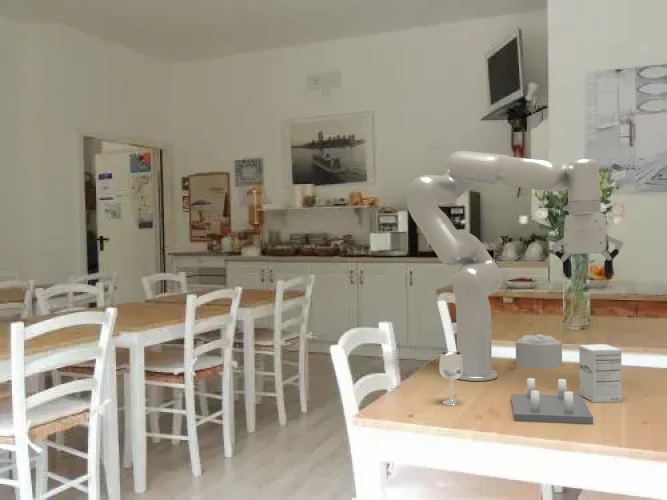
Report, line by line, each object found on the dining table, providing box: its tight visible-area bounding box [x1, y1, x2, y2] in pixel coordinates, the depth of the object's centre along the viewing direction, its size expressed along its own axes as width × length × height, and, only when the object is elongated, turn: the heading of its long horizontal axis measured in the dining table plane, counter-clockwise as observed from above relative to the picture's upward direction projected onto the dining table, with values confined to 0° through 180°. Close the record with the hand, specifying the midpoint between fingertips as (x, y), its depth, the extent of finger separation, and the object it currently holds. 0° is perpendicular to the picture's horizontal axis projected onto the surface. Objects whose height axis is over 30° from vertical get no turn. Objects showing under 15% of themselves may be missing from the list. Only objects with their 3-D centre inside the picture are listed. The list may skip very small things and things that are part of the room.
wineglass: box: [438, 350, 464, 406], centre depth 160 cm, size 6×6×12 cm
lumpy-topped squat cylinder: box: [515, 333, 563, 369], centre depth 202 cm, size 10×13×9 cm
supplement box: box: [578, 343, 623, 404], centre depth 162 cm, size 7×7×13 cm
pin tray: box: [510, 377, 594, 425], centre depth 152 cm, size 16×18×6 cm
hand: (587, 276), depth 168 cm, fingers open, 9 cm apart
